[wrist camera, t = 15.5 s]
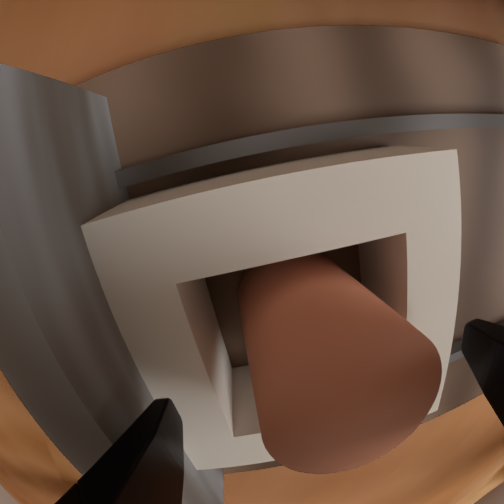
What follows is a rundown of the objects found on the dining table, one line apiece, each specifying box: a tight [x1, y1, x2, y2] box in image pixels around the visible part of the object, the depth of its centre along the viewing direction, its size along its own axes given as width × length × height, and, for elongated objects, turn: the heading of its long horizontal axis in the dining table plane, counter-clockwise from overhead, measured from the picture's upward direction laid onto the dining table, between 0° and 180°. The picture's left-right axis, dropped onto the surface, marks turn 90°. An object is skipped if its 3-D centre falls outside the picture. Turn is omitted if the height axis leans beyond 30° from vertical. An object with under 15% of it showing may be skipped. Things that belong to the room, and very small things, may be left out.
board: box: [0, 25, 504, 504], centre depth 10 cm, size 24×22×8 cm
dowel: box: [238, 252, 442, 474], centre depth 9 cm, size 4×4×7 cm
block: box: [81, 146, 461, 470], centre depth 10 cm, size 10×10×4 cm
